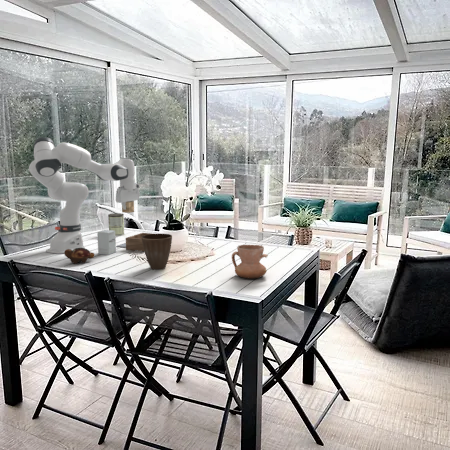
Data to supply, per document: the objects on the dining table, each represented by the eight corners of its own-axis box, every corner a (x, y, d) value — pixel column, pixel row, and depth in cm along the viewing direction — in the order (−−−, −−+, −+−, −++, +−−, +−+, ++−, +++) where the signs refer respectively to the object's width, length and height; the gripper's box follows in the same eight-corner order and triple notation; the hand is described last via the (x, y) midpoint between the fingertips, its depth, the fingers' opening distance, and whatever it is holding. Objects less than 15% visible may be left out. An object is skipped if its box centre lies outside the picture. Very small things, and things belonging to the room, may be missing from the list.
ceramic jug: (273, 275, 211) (273, 245, 209) (260, 282, 198) (260, 251, 196) (239, 270, 220) (239, 242, 218) (224, 277, 207) (224, 247, 205)
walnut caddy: (146, 251, 259) (146, 239, 257) (125, 249, 264) (125, 237, 263) (162, 245, 275) (162, 234, 274) (142, 243, 280) (142, 232, 279)
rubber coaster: (128, 248, 268) (128, 247, 268) (116, 246, 272) (116, 245, 272) (137, 245, 277) (137, 244, 276) (125, 243, 280) (125, 242, 280)
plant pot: (144, 272, 215) (143, 239, 212) (140, 265, 229) (139, 234, 226) (175, 270, 219) (174, 238, 216) (170, 263, 233) (169, 232, 231)
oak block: (129, 212, 267) (129, 202, 266) (122, 212, 269) (122, 202, 268) (134, 211, 272) (133, 201, 271) (127, 211, 274) (126, 201, 273)
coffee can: (106, 234, 311) (105, 214, 308) (120, 232, 317) (119, 212, 315) (113, 236, 303) (112, 215, 301) (127, 234, 309) (126, 214, 307)
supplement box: (109, 255, 251) (108, 232, 249) (97, 254, 254) (96, 231, 251) (116, 252, 258) (115, 230, 256) (105, 251, 260) (104, 229, 258)
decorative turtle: (61, 263, 233) (61, 247, 233) (89, 260, 243) (89, 245, 242) (68, 266, 226) (68, 250, 225) (97, 263, 236) (97, 247, 235)
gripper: (121, 187, 257) (122, 211, 259) (141, 184, 276) (141, 207, 278) (112, 186, 260) (113, 210, 262) (132, 184, 278) (132, 206, 280)
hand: (128, 208), depth 270 cm, fingers closed on oak block, 5 cm apart
